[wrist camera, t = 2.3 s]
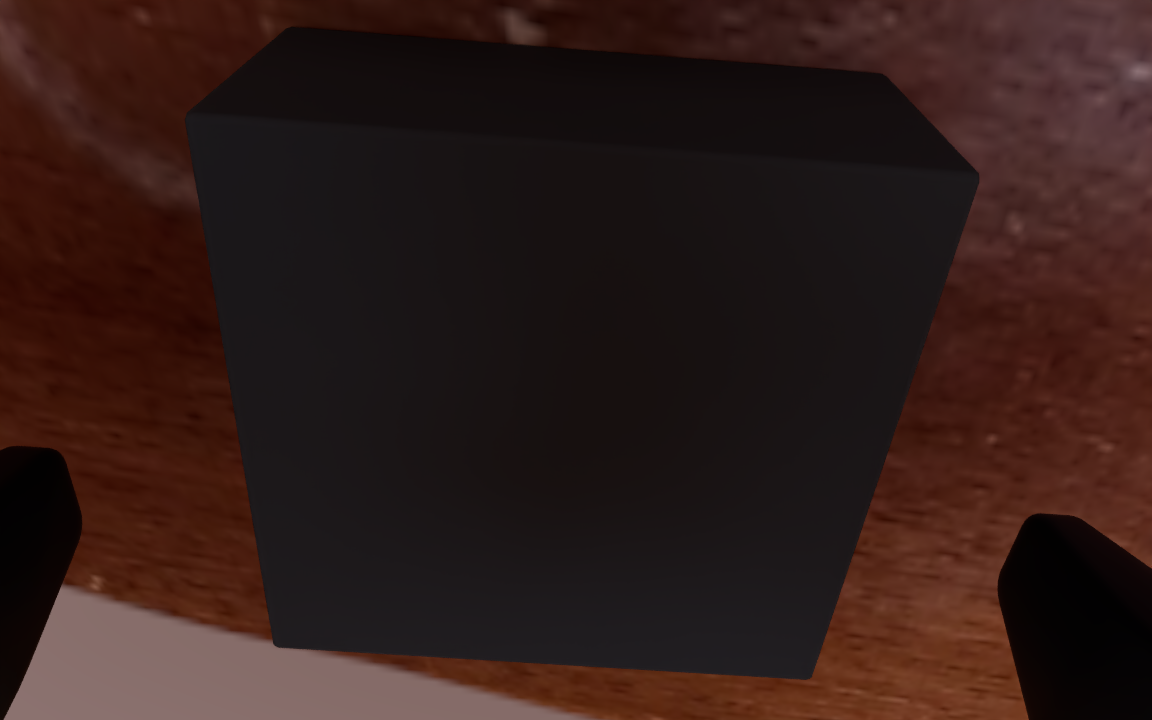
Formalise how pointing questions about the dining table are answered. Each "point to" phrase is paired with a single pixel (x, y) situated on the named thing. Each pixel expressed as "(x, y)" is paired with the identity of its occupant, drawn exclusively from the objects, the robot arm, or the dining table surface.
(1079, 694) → the robot arm
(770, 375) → the small pad
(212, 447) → the dining table surface
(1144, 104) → the dining table surface
